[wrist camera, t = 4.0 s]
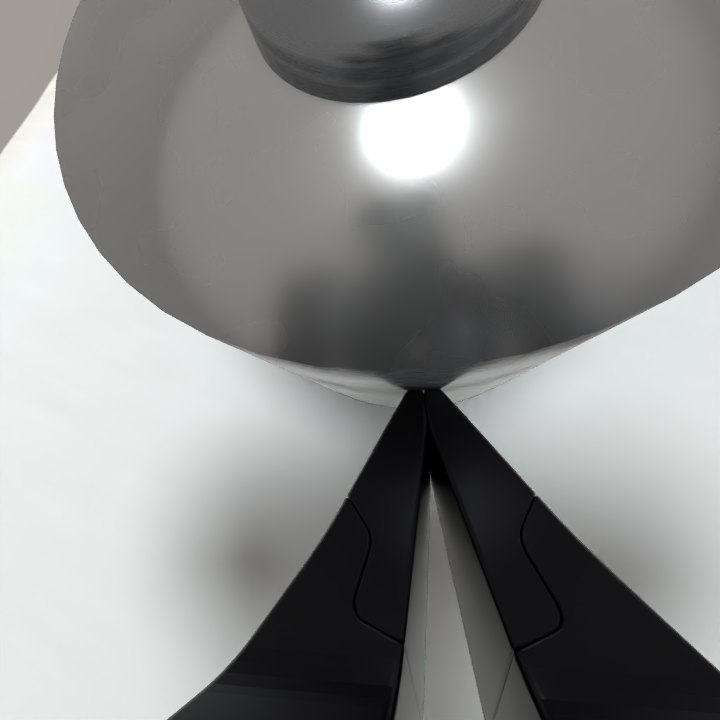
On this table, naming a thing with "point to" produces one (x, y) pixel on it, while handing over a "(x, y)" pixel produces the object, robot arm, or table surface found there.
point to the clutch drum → (397, 174)
